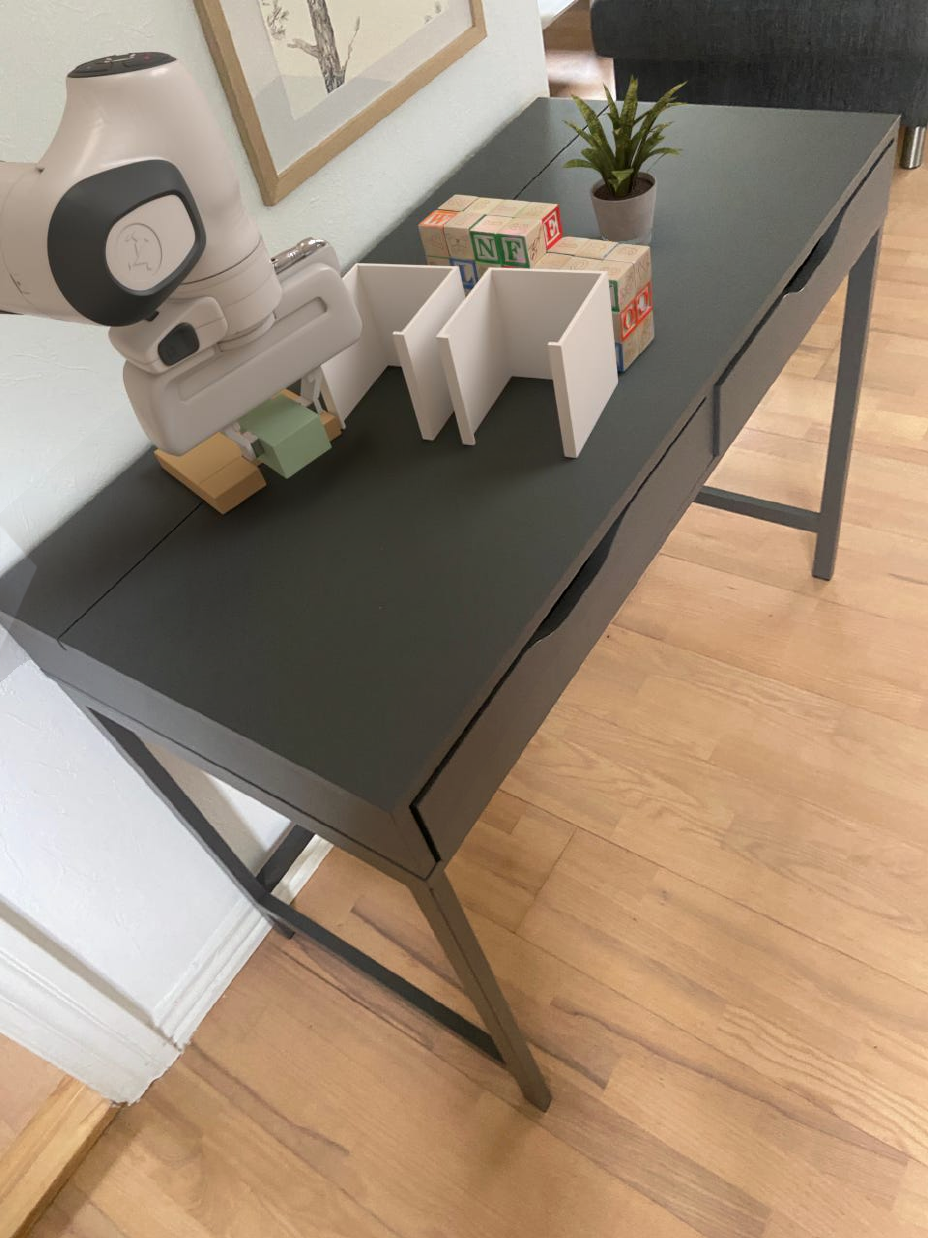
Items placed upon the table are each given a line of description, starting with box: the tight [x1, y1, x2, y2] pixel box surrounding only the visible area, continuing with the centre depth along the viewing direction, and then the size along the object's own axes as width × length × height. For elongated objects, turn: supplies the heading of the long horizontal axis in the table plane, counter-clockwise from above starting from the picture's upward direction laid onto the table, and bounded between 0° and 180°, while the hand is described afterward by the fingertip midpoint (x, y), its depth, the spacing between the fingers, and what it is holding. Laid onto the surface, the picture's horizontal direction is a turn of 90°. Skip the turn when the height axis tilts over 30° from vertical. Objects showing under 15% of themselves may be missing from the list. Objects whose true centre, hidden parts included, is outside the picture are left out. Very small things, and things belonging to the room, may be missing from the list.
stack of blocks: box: [417, 194, 655, 373], centre depth 87 cm, size 21×6×12 cm, turn 54°
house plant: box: [560, 73, 689, 246], centre depth 94 cm, size 14×14×16 cm
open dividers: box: [319, 262, 619, 459], centre depth 82 cm, size 25×11×11 cm, turn 65°
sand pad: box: [153, 388, 342, 515], centre depth 88 cm, size 14×12×2 cm
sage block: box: [237, 393, 332, 480], centre depth 80 cm, size 5×8×4 cm, turn 42°
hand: (283, 435), depth 79 cm, fingers closed on sage block, 5 cm apart
